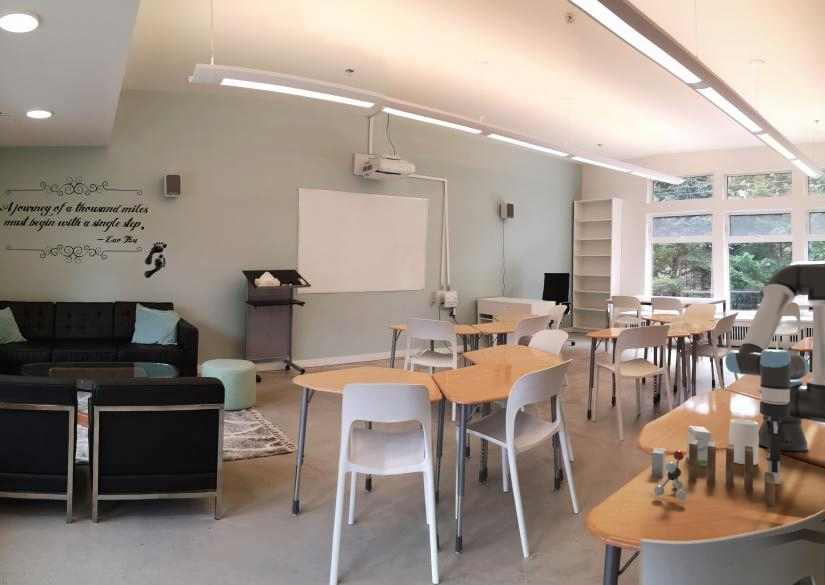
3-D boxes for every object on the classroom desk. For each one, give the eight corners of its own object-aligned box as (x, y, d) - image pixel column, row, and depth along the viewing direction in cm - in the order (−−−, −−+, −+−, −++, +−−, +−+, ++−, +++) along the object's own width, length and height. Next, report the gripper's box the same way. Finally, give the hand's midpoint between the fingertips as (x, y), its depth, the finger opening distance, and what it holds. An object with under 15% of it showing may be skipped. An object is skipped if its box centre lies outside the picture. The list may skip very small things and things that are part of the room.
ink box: (686, 460, 194) (686, 425, 194) (703, 461, 193) (703, 426, 193) (693, 468, 186) (693, 430, 186) (710, 469, 184) (711, 431, 185)
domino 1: (697, 476, 177) (697, 440, 177) (696, 482, 171) (696, 444, 171) (690, 475, 178) (690, 439, 178) (688, 480, 172) (689, 443, 172)
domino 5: (773, 472, 162) (775, 483, 153) (772, 494, 162) (774, 506, 153) (764, 471, 163) (766, 482, 154) (764, 492, 163) (765, 505, 154)
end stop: (664, 471, 181) (665, 448, 181) (662, 477, 175) (662, 453, 175) (654, 469, 183) (654, 447, 183) (651, 475, 177) (652, 452, 177)
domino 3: (733, 482, 172) (734, 444, 172) (733, 487, 167) (734, 449, 167) (725, 480, 173) (726, 443, 173) (725, 486, 168) (726, 448, 168)
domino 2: (715, 479, 174) (715, 442, 174) (714, 484, 169) (715, 446, 169) (707, 478, 175) (708, 441, 175) (707, 483, 170) (707, 445, 170)
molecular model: (652, 495, 159) (653, 456, 159) (663, 484, 169) (663, 447, 169) (685, 502, 155) (685, 461, 155) (694, 490, 164) (694, 452, 164)
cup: (756, 470, 184) (757, 425, 184) (726, 465, 189) (727, 421, 189) (760, 464, 190) (760, 421, 190) (731, 460, 196) (731, 417, 196)
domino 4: (752, 484, 170) (752, 446, 170) (752, 490, 164) (753, 451, 164) (744, 483, 171) (744, 446, 171) (744, 489, 165) (745, 450, 165)
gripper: (758, 396, 184) (757, 469, 184) (761, 405, 167) (759, 486, 167) (787, 398, 180) (785, 473, 180) (792, 408, 163) (791, 491, 163)
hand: (773, 479), depth 173 cm, fingers closed on teal tile, 6 cm apart
